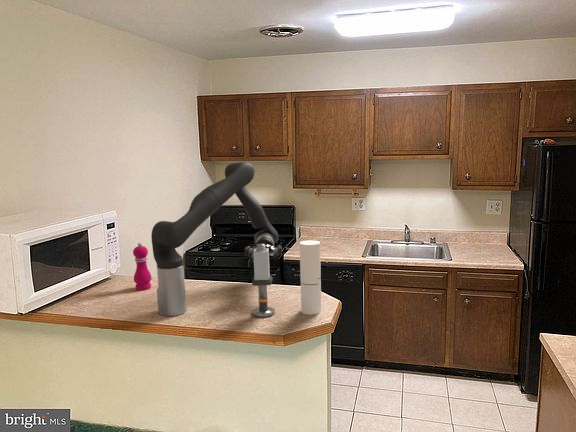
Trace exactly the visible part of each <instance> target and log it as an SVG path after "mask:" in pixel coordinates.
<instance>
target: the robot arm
mask: <svg viewBox="0 0 576 432" xmlns="http://www.w3.org/2000/svg"><path fill="white" fill-rule="evenodd" d="M255 173H256V172H255V167H254V166H253V164H251V163H250V162H246V161H240V162H234V163H233V162H231V163H229V164H227V166H225V169H224V177H225V178H223V179H221V180H219V181H217V182H215V183H213V184H210V185H209V186H207V187H205V188H204V189H203V190H201V191H200V192H199V193H198V194H196V195H195V196H194V198H193V199H192V201H191V203H190V206H189V209H188V211H187V212H186V213H185V214H184V215H182V216H181V217H180V218H178V219H177V220H175V221H167V220H160V221H158V222H156V223H155V224H154V225H153V227H152V230H151V235H150V236H151V247H152V254H153V259H154V261H155V263H156V273H157V275H156V276H157V283H158V287H157V288H156V293H157V294H156V295H157V309H158V315H159V316H164V317H172V316H173V317H174V316H180V315H182V314H185V313H186V312H187V301H186V300H187V299H186V298H187V297H186V286H185V285H186V284H185V268H184V258H183V256H182V255H180V253H179V252H178V251H177V250H176V249H177V248H179V247H181V246H183V244H184V243H186V241H187V240H188V239H189V238H190V236H192V235H193V233H194V232H195V231H196V230H197V229H198V228H199V227H200V226H201V225H202V224H203V223H204V222H205V221H207V220H208V218H209V217H211V216H212V215H214V213H216V212H217V211H218V210H219V209H220V208H221V207H222V206H223V205H224V204H225V203H226V202H227V201H228V200H229V199H231V198H232V197H233V196H234V195H235V196H236V197H237V198H238V200H239V202H240V203H241V205H242V207H243V208H244V211H245V212H246V214H247V217H248V219H249V221H250V224H251V226H252V227H253V229H262V230H260V231H257V232H256V233H254V236H253V238H254V239H253V240H254V243H255V245H254V246H253V247H252V248H251V247H250V246H248V245H247V246H245V247H244V257H248V258H250V259H253V258H254V253H253V252H254V249H257V244H265V248H269V257H270V256H271V257H273V258H276V257H278V255H279V256H282V255H283V247H282V245H281V244H280V245H278V246H277V247H275V243H277V242H278V241H279V233H278V231H277V230H276V229H275V228H274V226H273V225H272V224H271V222H270V221H269V220H268V217H267V215H266V213H265V211H264V209H263V207H262V205H261V204H260V203H259V201H258V200H257V198H255V196H253V194H251V193H250V191H249V190H248V188H247V187H246V186H247V185H249V184H250V183H251V182H252V180H254V177H255Z"/></svg>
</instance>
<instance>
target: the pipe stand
mask: <svg viewBox="0 0 576 432" xmlns="http://www.w3.org/2000/svg"><path fill="white" fill-rule="evenodd" d="M257 251H266V250H265V244H257ZM258 281H267V280H258ZM257 287H258V288H257V290H258V291H257V292H258V307H255V308H253V309H252V311H251V314H252V316H253V317H256V318H262V319H263V318H264V319H265V318H270V317H272V316H274V315H275V313H276V311H275V308H274V307H271V306H269V305H268V301H269V300H268V285H259V286H257Z"/></svg>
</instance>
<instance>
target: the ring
mask: <svg viewBox="0 0 576 432" xmlns="http://www.w3.org/2000/svg"><path fill="white" fill-rule="evenodd" d="M273 279H274V278H273V276H272V275H270V277H269V280H267V281H258V280H255V277H254V276H253V277H252V281H251V285H252V286H253V287H254V286H255V287H256V286H257V287H258V286H259V285H267V286H271V285H272V284H273Z"/></svg>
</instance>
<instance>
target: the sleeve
mask: <svg viewBox="0 0 576 432" xmlns="http://www.w3.org/2000/svg"><path fill="white" fill-rule="evenodd" d="M265 250H266V251H257V249H254V252H253V253H254V256H253V270H254V271H253V273H254V276H253V277H255V280H269V277H270V276H271V274H270V256H269V248H265Z"/></svg>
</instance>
